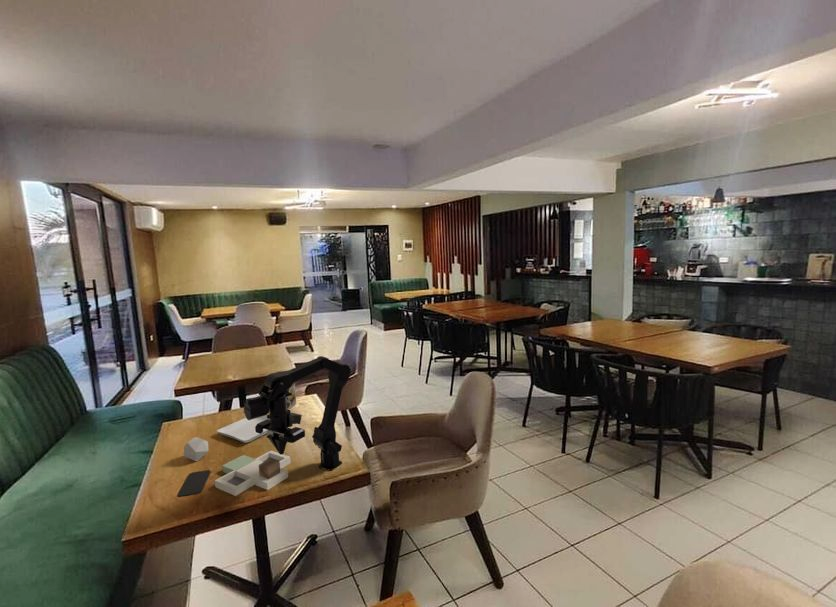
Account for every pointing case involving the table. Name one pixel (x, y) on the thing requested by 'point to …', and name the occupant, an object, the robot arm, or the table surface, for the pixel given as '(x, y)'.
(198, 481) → the phone
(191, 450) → the die
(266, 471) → the walnut block
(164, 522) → the table surface
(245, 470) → the box
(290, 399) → the coffee box
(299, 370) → the robot arm
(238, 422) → the salad plate
